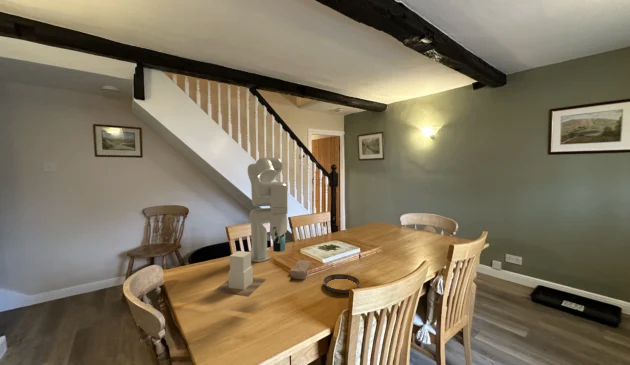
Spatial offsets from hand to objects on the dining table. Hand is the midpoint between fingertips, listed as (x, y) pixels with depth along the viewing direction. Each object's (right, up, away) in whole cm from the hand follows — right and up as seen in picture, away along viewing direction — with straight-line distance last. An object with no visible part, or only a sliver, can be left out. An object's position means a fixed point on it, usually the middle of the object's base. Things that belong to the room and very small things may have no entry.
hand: (279, 248), depth 119 cm
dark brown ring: (+29, -20, +6) cm, 36 cm away
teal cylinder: (0, -1, 0) cm, 1 cm away
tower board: (-19, -20, +4) cm, 27 cm away
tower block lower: (-19, -18, +4) cm, 26 cm away
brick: (+9, -19, +22) cm, 30 cm away
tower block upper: (-19, -10, +4) cm, 22 cm away
